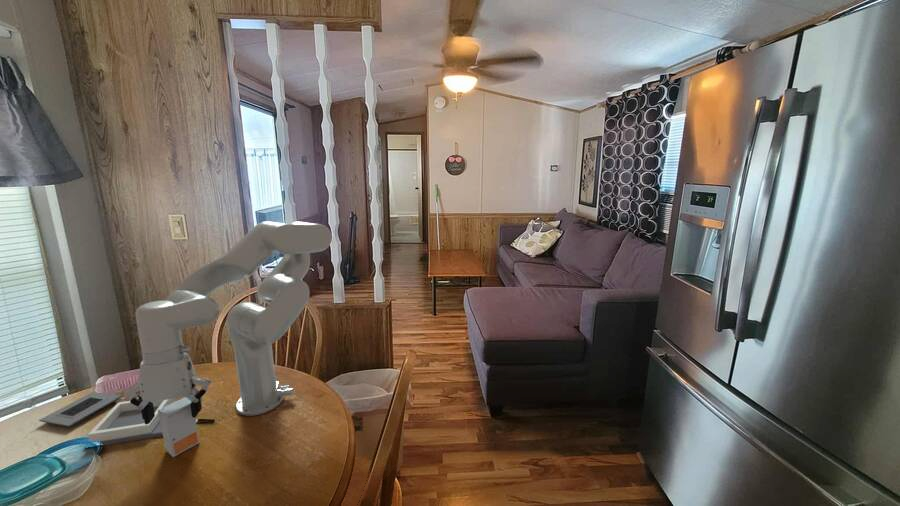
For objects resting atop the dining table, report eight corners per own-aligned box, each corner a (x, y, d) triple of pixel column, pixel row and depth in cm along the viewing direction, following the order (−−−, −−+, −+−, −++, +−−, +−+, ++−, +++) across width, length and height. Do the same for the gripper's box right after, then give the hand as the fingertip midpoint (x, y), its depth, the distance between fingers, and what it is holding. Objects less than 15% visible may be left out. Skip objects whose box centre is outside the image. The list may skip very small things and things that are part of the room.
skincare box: (173, 458, 87) (164, 416, 84) (165, 451, 89) (156, 409, 86) (200, 442, 92) (193, 402, 89) (193, 436, 94) (185, 396, 91)
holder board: (201, 400, 109) (199, 390, 108) (182, 432, 96) (179, 420, 95) (117, 412, 103) (114, 402, 102) (84, 448, 90) (81, 436, 89)
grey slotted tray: (70, 432, 96) (68, 424, 95) (40, 426, 98) (38, 419, 97) (123, 401, 108) (121, 394, 108) (95, 397, 111) (93, 390, 110)
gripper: (211, 342, 90) (218, 402, 94) (128, 350, 85) (139, 413, 89) (199, 356, 83) (208, 421, 87) (108, 365, 78) (122, 433, 82)
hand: (173, 417), depth 88 cm, fingers open, 9 cm apart
